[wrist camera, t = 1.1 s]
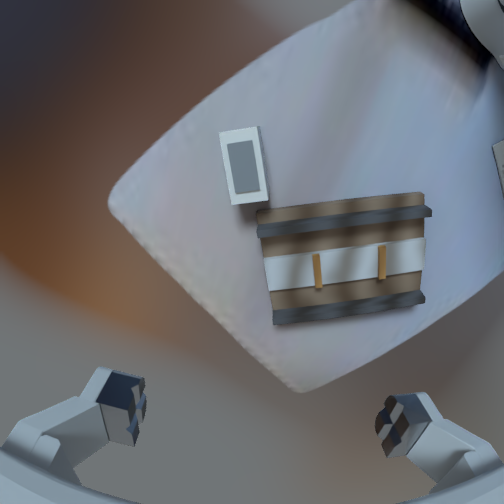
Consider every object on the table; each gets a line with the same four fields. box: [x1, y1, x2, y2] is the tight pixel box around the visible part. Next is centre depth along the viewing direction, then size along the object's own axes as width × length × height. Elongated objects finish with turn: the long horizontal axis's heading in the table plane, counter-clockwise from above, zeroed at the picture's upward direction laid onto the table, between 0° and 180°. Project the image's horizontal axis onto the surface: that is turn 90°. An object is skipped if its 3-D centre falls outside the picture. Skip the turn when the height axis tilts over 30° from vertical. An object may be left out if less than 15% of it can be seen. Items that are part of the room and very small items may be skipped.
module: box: [219, 126, 270, 205], centre depth 37 cm, size 4×9×5 cm, turn 9°
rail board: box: [256, 192, 432, 325], centre depth 42 cm, size 24×18×4 cm
